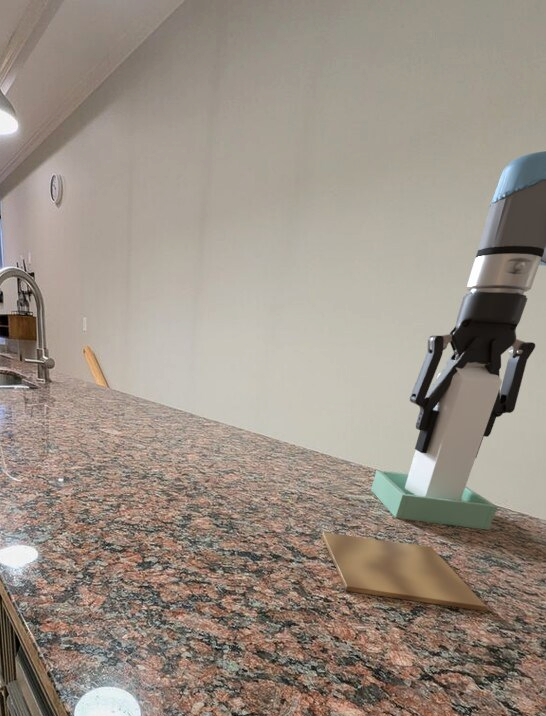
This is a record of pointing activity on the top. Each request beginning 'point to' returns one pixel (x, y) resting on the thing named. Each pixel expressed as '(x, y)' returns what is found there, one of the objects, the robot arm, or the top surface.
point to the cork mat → (398, 571)
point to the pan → (431, 504)
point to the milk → (455, 434)
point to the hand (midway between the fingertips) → (444, 453)
